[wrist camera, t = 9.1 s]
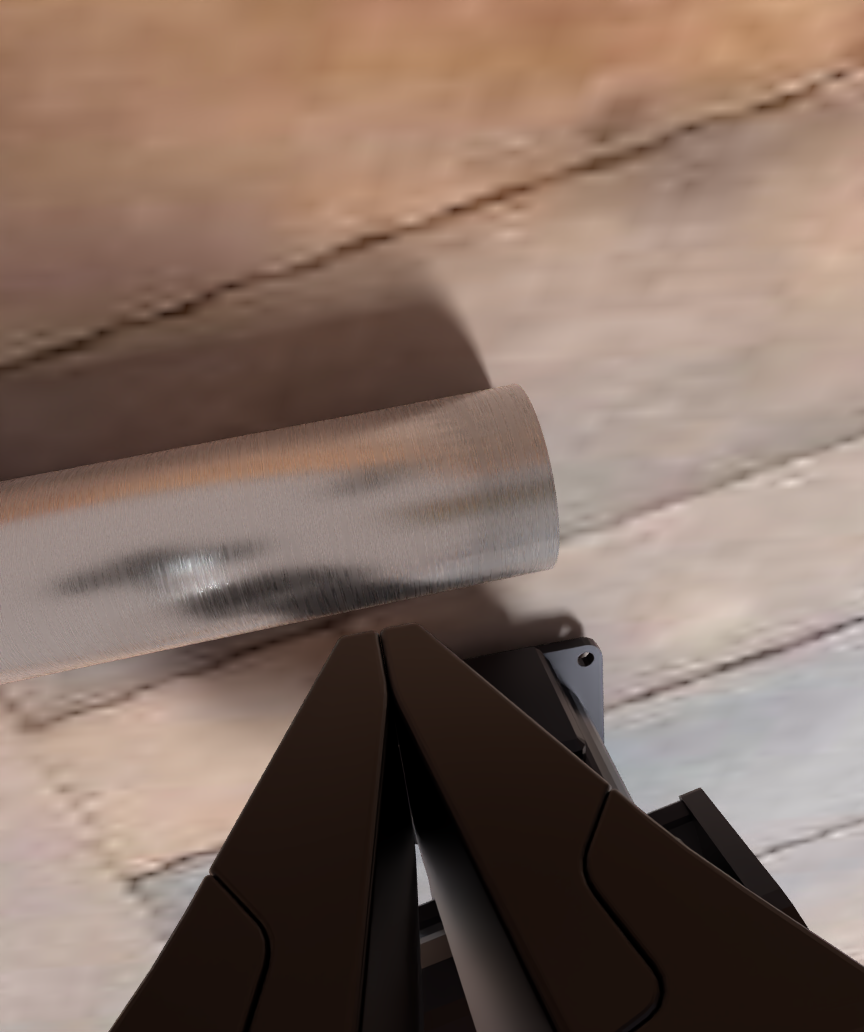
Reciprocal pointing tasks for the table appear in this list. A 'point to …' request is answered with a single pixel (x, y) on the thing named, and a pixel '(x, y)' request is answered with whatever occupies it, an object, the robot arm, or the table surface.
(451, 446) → the air tube
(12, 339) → the table surface
